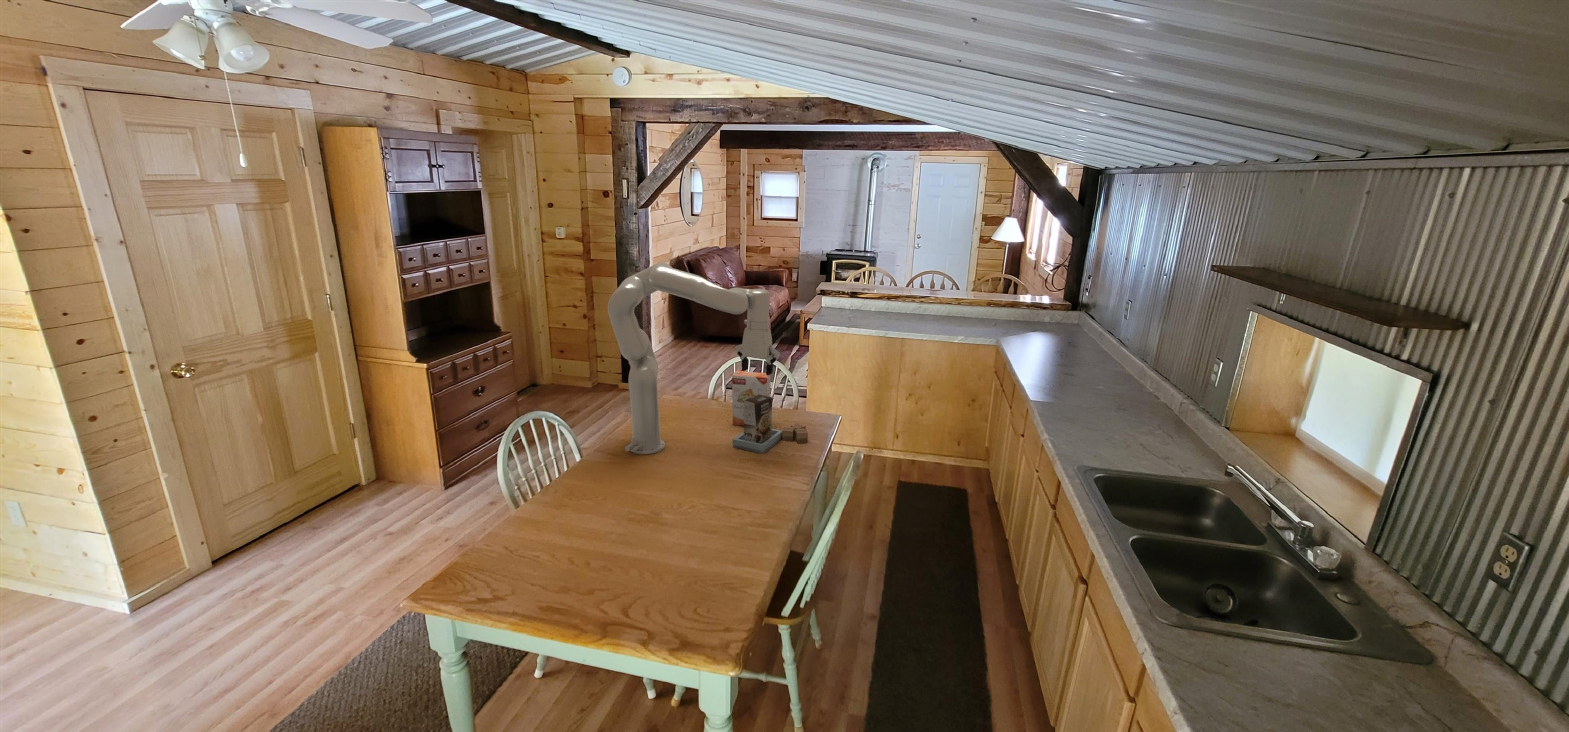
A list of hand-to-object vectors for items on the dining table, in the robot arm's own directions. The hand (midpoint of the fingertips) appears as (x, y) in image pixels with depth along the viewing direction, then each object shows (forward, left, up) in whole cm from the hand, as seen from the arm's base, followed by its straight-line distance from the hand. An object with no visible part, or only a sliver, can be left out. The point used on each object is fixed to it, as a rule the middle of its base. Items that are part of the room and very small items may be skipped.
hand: (756, 372), depth 228 cm
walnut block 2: (+13, -10, -27) cm, 32 cm away
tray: (0, 0, -27) cm, 27 cm away
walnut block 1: (+9, -9, -27) cm, 30 cm away
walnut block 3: (+9, -13, -27) cm, 32 cm away
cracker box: (+15, +11, -27) cm, 33 cm away
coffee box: (0, 0, -26) cm, 26 cm away
